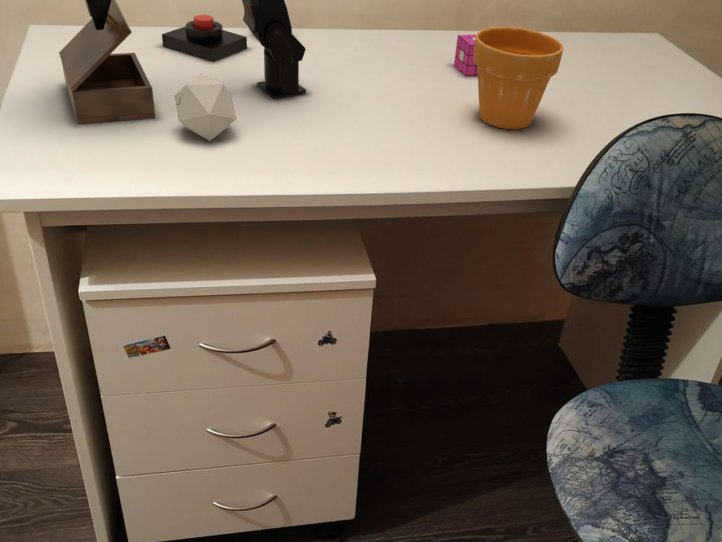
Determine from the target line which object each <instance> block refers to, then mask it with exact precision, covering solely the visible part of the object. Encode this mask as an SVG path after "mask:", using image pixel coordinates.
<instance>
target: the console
mask: <svg viewBox="0 0 722 542" xmlns="http://www.w3.org/2000/svg"><path fill="white" fill-rule="evenodd" d="M161 41H162V47H164V48H167V49H171V50H173V51H177V52H180V53H183V54H186V55H190V56H193V57H197V58H199V59H203V60H206V61H209V62H212V63H214V62H216V61H219V60H222V59H224V58H228V57H229V56H232V55H235V54H237V53H239V52H243V51H245V50H247V49H248V36H245V35H241V34H239V33H235V32H231V31H228V30H224V28H223V25H222V24H221V23H220V22H219V21H215V20H214V28H211V29H198V28H195V27H194V20H191V21H188V22H186V24H185V25H184V26H182V27H179V28H176V29H173V30H170V31H167V32H164V33H161Z"/></svg>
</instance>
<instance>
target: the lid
mask: <svg viewBox="0 0 722 542" xmlns="http://www.w3.org/2000/svg"><path fill="white" fill-rule="evenodd" d="M85 2H86V0H84V3H85ZM85 5H87V2H86V3H85ZM87 7H88V5H87V6H86V8H87ZM88 9H89V8H87V10H88ZM132 33H133V31H132V29H131V27H130V25H129V23H128V21H127V20H126V18H125V16H124V14H123V12H122V10H121V8H120V6H119V4H118V2H117V1H116V0H112V1H111V4H110V8H109V11H108V15H107V19H106V22H105V26H104V29H103V30H96V28H95V25H94V23H93V20H92V18H91V19H90V20H89V21H88V22H87V23H86V24H85V25H84V26H83V27H82V28H81V29H80V30H79V31H78V32H77V33H76V34H75V35H74V36H73V38H72V39H70V41H69V42H68V43H66V45H65V46H64V47H63V48H62V49H61V50H60V51H58V54H59V57H60V61H61V65H62V64H63V66H62V68H63V67H64V70H65V74H66V77H67V80H68V83H69V86H70V89H71V90H72V91H74V90H75V89H76V88H77V87H78V86H79V85H80V84H81V83H82V82H83V81H84V80H85V79H86V78H87V77H88V76H89V75H90V74H91V73H92V72H93V71H94V70H95V69H96V68H97V67H98V66H99V65H100V64H101V63H102V62H103V61H104V60H105V59H106V58H107V57H108V56H109V55H110V54H113V52H114V51H115V50H116V49H117V48H118V47H120V45H121V44H122V43H123V42H124V41H125V40H126V39H127V38H129V36H130V35H131V34H132Z"/></svg>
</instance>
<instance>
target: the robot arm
mask: <svg viewBox="0 0 722 542" xmlns="http://www.w3.org/2000/svg"><path fill="white" fill-rule="evenodd" d="M111 1H112V0H86V2H87V5H88V7H87V5H86V2H85V1H84V3H85V5H86V8H87V11H88V14H89V16H90V17H91V19H92V20H93V23H94V25H95V28H96V30H103V29H104V26H105V22H106V19H107V15H108V11H109V8H110V4H111ZM241 2H242V6H243V10H244V11H243V12H244V13H243V18H242V22H244V24H245V25H246V26H247V27H248V29H249V31H250V32H251V34H252V35H253V36H254V38H255V39H256V40H257V41H258V42H259V43H260V45H261V47H263V71H264V73H263V77H264V79H263V81H257V82H256V86H257V87H258V88H259V89H260V90H262V91H263V92H265V93H266V94H267V95H269V96H270V97H272V98H273V99H278V98H284V97H290V96H291V97H292V96H296V95H301V94H302V95H303V94H306V93H307V89H306V88H304V87H303V86H302V85H300V84H299V81H300V80H299V79H300V78H299V77H300V76H299V75H300V73H299V72H300V62H302V61H303V58H304V57H305V54H306V50H307V49H306V47H305V46H304V45H303V44H302V43H301V41H299V39H298V38H297V37H296V36H295V35H294V34H293V27H292V23H291V19H290V15H289V11H288V6H287V7H286V4H285V1H284V0H241ZM88 8H89V9H88Z"/></svg>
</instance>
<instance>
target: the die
mask: <svg viewBox="0 0 722 542" xmlns="http://www.w3.org/2000/svg"><path fill="white" fill-rule="evenodd" d="M174 101H175V107H176V113H177V118H178V122H179V123H180V124H181V125H183V126H184V127H185V128H186V129H187V130H188V131H191V132H192V133H194V134H196V135H198V136H200V137H202V138H203V139H205V140H207V141H209V142H211V141H212V140H213V139H215V138H216V137H217V136H219V134H221V133H222V132H223V131H225V129H227V128H228V127H230V125H231V124H233V123H234V122H235V121H236V120H237V119H238V117H237V114H236V107H235V104H234V99H233V94H232V92H231V91H230V90H229V89H228V88H227V86H226V85H225V84H224V83H222V82H220V81H218V80H217V79H214V78H212V77H210V76H208V75H206V74H204V73H199V75H197V76H196V77H194V79H192V80H191V81H190V82H188V83H187V84H185V86H184V87H182V88H181V89H180V90H179V91H178V92H177V93H176V94H175V95H174Z"/></svg>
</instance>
